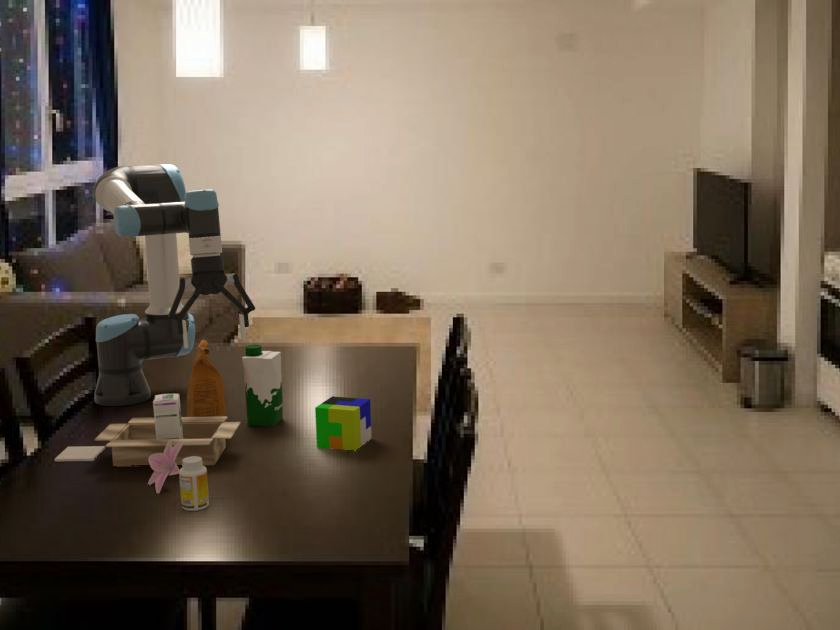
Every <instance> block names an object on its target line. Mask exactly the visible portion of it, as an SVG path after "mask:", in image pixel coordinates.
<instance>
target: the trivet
mask: <svg viewBox="0 0 840 630" xmlns="http://www.w3.org/2000/svg"><path fill="white" fill-rule="evenodd" d="M104 450H106V445H100V446H99V445H97V446H96V445H93V446H89V445H88V446H67V447H66V448H65V449H64V450H63V451H61V453H59V454H58V455H57V456H56V457H55V458H54V462H95V460H96V459H97V458H98V457H99V456H100V455H99V454H100V453H103V452H104ZM98 455H99V456H98ZM97 456H98V457H97ZM95 458H96V459H95Z"/></svg>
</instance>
